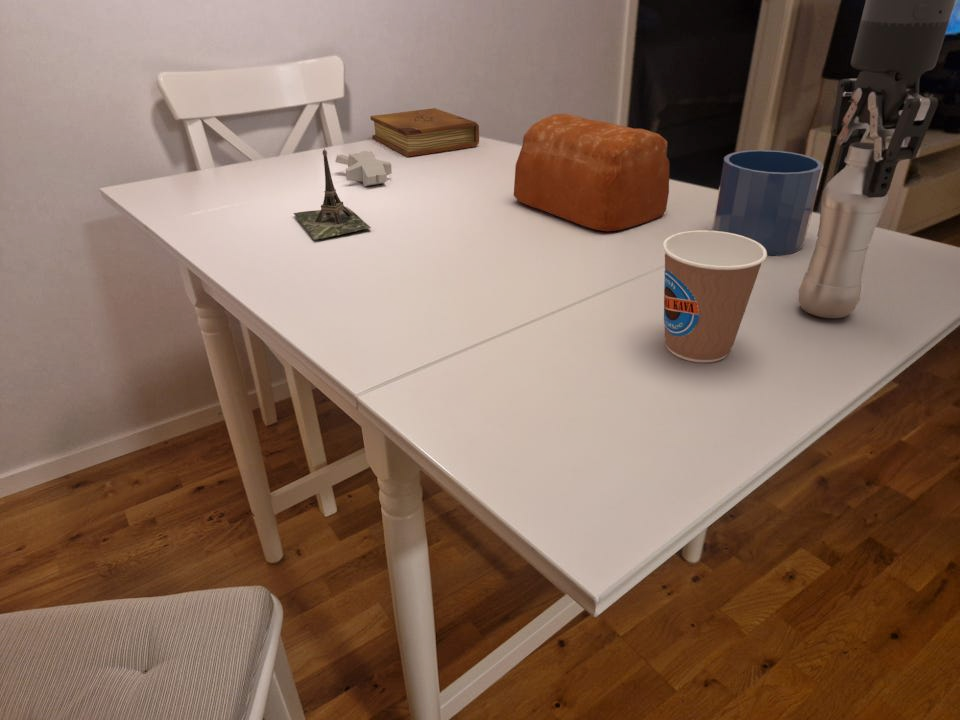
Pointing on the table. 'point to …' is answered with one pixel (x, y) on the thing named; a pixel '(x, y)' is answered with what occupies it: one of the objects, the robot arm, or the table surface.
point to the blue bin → (768, 198)
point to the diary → (425, 131)
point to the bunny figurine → (365, 168)
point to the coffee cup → (707, 291)
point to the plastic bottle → (842, 238)
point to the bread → (593, 172)
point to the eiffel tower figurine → (330, 213)
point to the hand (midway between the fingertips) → (858, 187)
